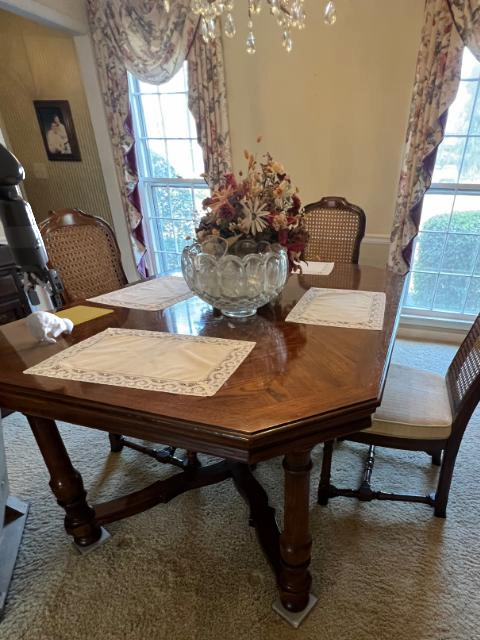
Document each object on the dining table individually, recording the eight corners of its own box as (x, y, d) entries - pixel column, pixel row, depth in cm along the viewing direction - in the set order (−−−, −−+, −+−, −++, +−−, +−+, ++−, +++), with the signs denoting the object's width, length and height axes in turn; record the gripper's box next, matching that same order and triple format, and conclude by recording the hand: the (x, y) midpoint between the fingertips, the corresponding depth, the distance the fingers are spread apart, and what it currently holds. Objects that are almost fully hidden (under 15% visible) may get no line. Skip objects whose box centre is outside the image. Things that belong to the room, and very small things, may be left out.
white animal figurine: (19, 312, 101) (59, 305, 112) (28, 343, 105) (65, 333, 115) (37, 315, 100) (75, 307, 110) (45, 346, 103) (81, 336, 114)
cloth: (65, 328, 117) (64, 327, 117) (28, 322, 122) (27, 321, 122) (114, 311, 133) (113, 310, 133) (80, 306, 138) (79, 305, 138)
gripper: (-8, 244, 96) (16, 307, 104) (32, 247, 92) (54, 313, 100) (20, 241, 102) (41, 300, 110) (59, 243, 98) (77, 305, 106)
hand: (47, 306), depth 105 cm, fingers open, 8 cm apart
